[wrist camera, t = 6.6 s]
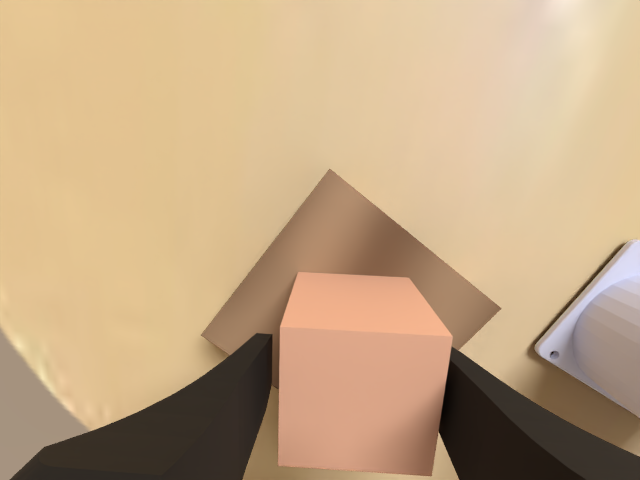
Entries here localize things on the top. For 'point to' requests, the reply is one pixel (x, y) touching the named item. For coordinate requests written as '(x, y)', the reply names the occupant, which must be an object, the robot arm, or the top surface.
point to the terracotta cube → (360, 375)
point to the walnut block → (343, 269)
